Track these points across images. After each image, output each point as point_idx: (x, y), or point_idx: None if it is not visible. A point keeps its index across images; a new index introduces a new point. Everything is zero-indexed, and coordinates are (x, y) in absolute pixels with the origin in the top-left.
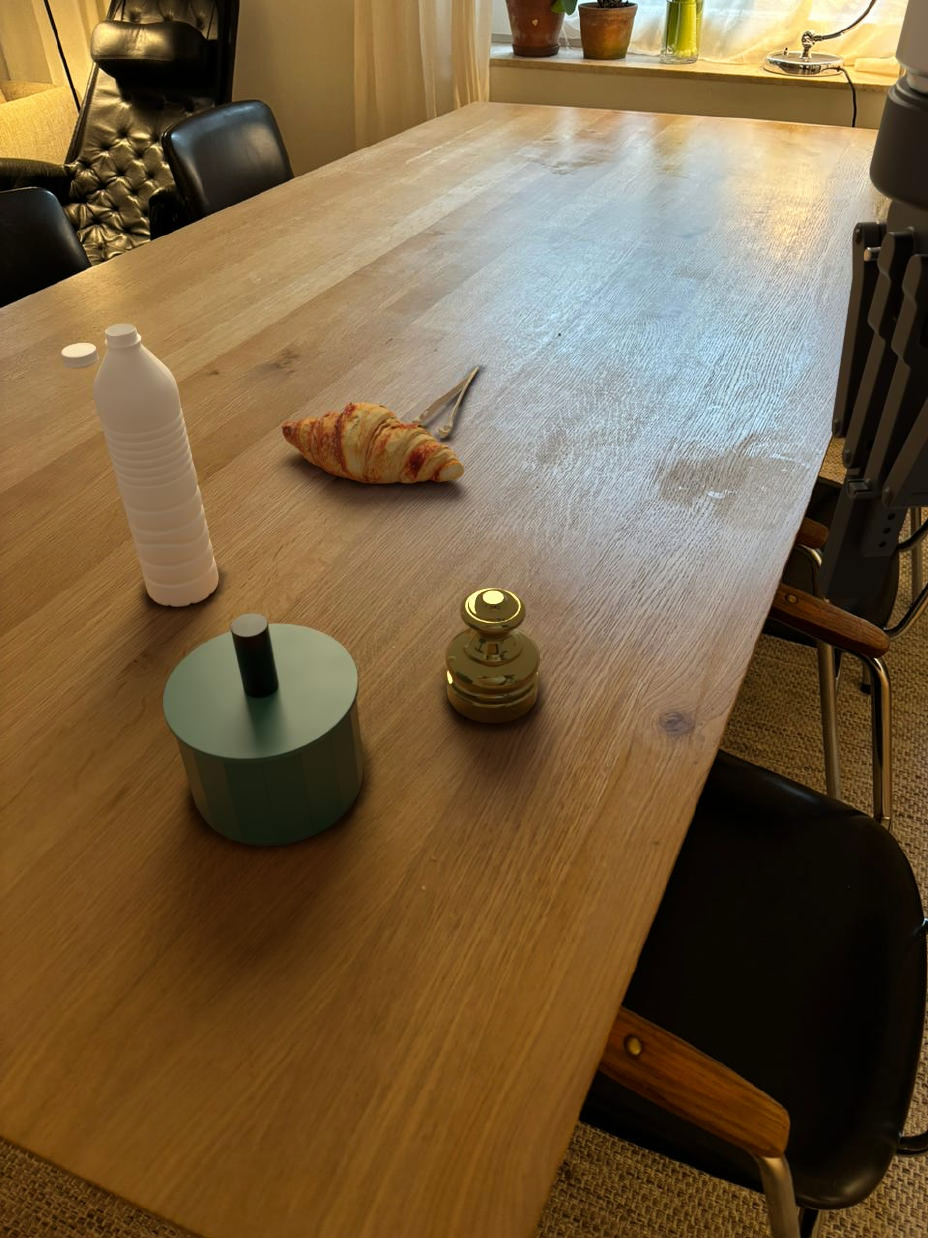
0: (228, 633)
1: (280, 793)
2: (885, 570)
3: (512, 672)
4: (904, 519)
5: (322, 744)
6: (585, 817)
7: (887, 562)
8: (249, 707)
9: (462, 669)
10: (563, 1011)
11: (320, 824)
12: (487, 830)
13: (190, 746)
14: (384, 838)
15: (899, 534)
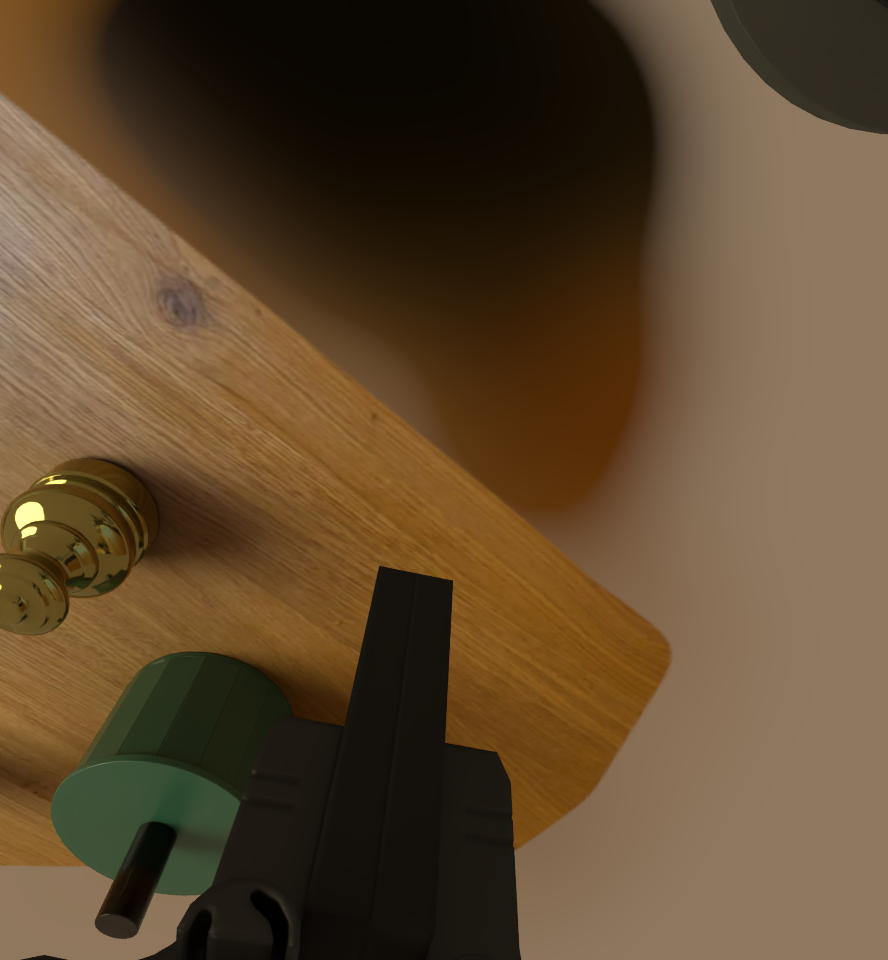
0: (67, 844)
1: None
2: (449, 640)
3: (109, 544)
4: (513, 895)
5: (241, 785)
6: (319, 475)
7: (447, 660)
8: (189, 845)
9: (99, 593)
10: (533, 572)
11: (282, 705)
12: (314, 571)
13: None
14: (303, 653)
15: (513, 837)
